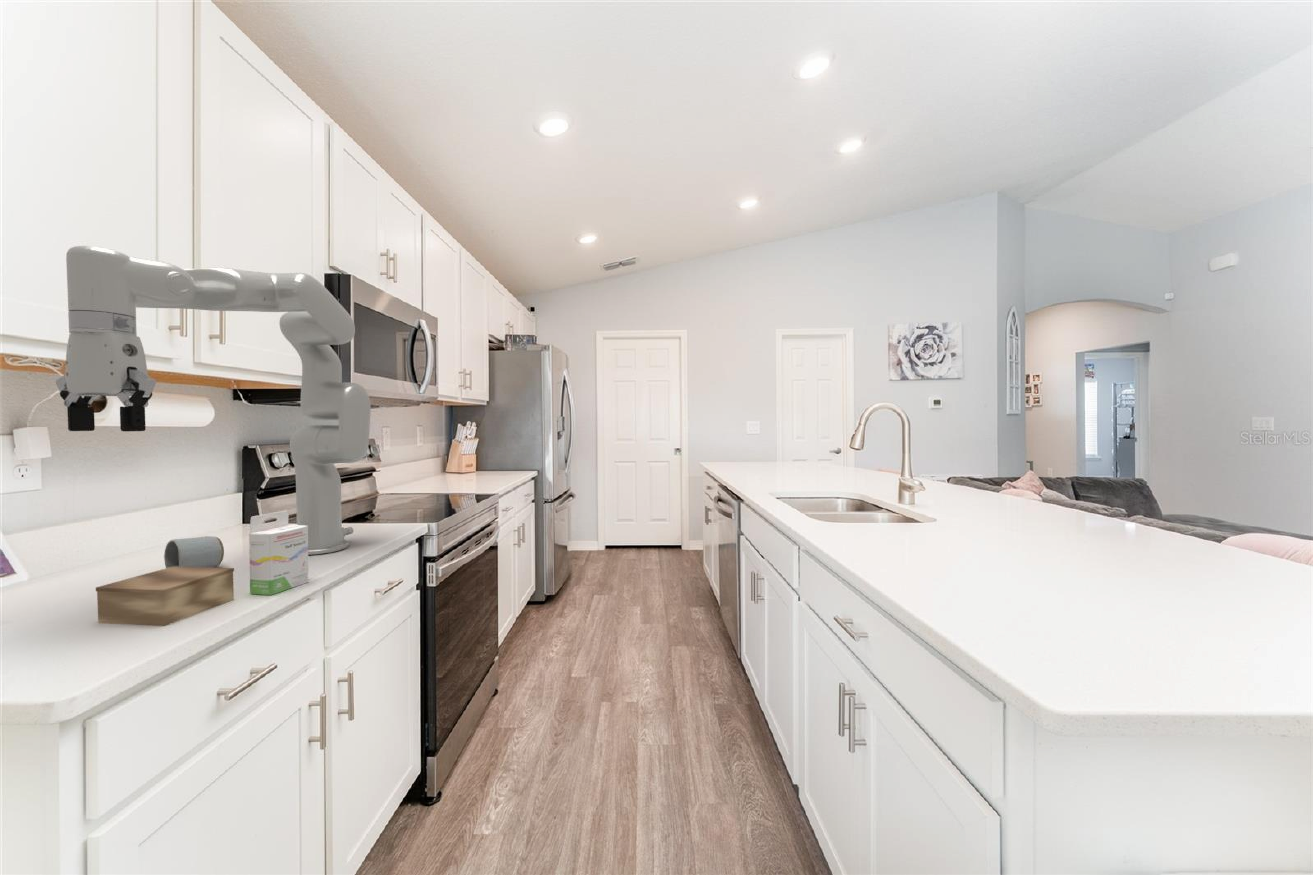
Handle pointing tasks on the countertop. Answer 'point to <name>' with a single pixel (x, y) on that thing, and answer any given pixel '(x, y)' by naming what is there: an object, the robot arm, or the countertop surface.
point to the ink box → (277, 554)
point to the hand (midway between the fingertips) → (107, 431)
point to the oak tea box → (164, 595)
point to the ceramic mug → (194, 552)
